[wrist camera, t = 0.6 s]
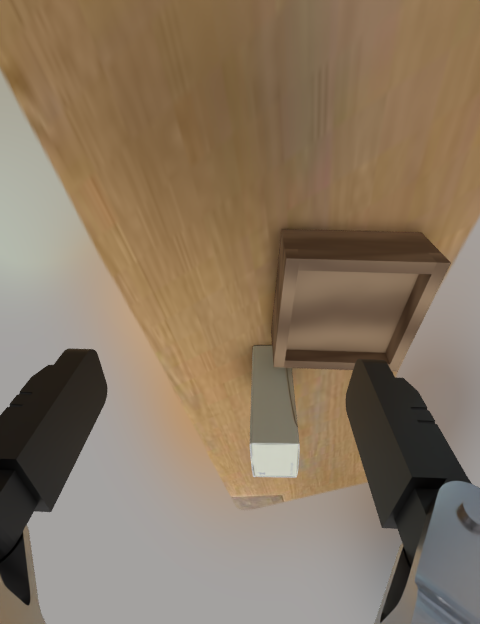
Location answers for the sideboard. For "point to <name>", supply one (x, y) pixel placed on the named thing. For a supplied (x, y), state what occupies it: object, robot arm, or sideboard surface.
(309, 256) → the brown wooden tray
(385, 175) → the sideboard surface
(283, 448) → the skincare box
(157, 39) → the sideboard surface
